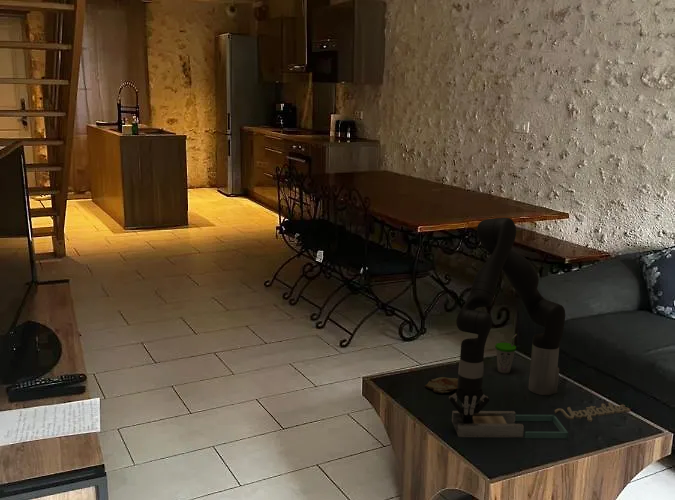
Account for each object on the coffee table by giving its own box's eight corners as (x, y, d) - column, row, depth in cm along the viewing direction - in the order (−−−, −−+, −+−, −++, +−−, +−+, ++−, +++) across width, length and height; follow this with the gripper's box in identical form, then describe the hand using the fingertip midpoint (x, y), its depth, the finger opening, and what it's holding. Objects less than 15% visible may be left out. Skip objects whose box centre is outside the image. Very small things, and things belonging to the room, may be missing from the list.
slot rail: (512, 423, 211) (513, 410, 210) (523, 440, 201) (524, 426, 200) (451, 423, 211) (452, 410, 210) (458, 440, 200) (459, 426, 199)
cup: (493, 373, 250) (495, 336, 247) (493, 366, 258) (496, 330, 255) (514, 376, 248) (517, 339, 245) (514, 368, 256) (517, 332, 253)
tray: (553, 422, 212) (554, 414, 212) (567, 441, 201) (568, 432, 200) (513, 422, 212) (514, 414, 211) (525, 441, 200) (525, 432, 200)
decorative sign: (570, 422, 211) (552, 409, 220) (570, 425, 211) (552, 411, 221) (638, 413, 219) (617, 400, 228) (637, 416, 219) (617, 403, 228)
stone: (437, 398, 230) (437, 390, 229) (422, 386, 238) (422, 378, 238) (469, 392, 235) (469, 384, 234) (453, 380, 244) (454, 373, 243)
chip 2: (501, 424, 208) (502, 416, 207) (506, 432, 203) (506, 423, 203) (486, 424, 208) (486, 416, 207) (490, 432, 203) (490, 423, 202)
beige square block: (486, 424, 208) (486, 416, 207) (490, 432, 203) (490, 423, 202) (470, 424, 208) (471, 416, 207) (474, 432, 203) (474, 423, 202)
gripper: (489, 368, 205) (484, 419, 209) (447, 367, 205) (443, 418, 209) (495, 378, 198) (490, 430, 202) (451, 377, 197) (448, 430, 201)
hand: (466, 424), depth 205 cm, fingers closed
